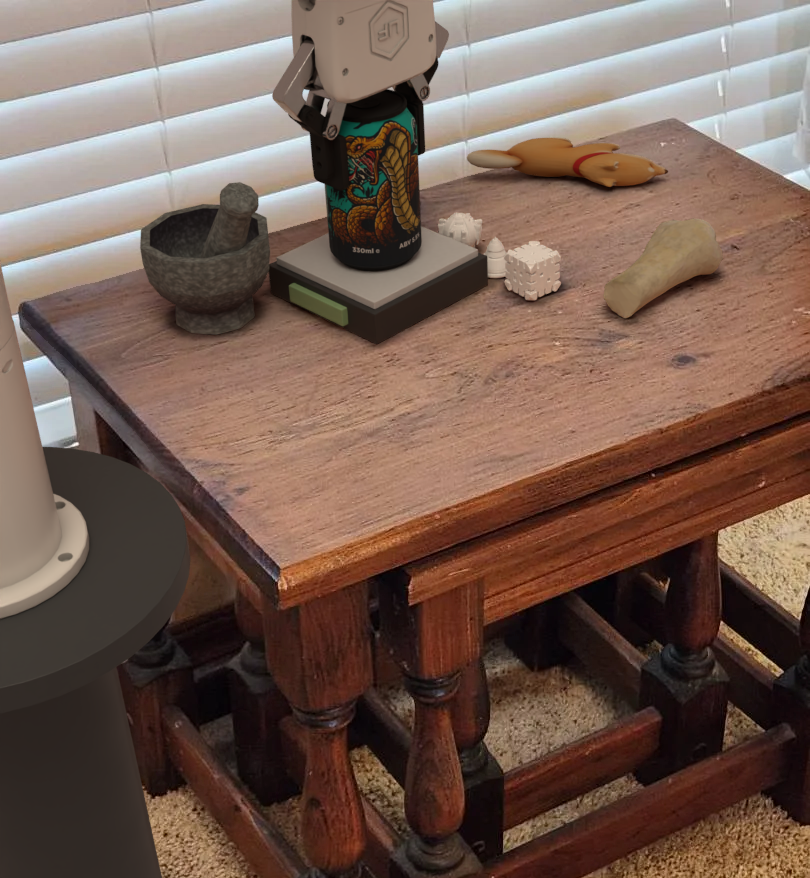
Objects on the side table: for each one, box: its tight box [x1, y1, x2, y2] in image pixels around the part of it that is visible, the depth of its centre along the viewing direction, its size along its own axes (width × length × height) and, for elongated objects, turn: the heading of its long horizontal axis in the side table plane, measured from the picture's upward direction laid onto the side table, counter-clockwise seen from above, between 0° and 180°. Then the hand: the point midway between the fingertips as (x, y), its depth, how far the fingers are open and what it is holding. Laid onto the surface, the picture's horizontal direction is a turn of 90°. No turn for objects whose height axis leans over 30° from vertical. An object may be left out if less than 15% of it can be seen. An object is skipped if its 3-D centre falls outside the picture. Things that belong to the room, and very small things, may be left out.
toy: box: [466, 137, 669, 188], centre depth 134 cm, size 3×17×5 cm
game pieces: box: [437, 212, 562, 301], centre depth 121 cm, size 12×3×3 cm, turn 37°
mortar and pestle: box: [139, 181, 271, 336], centre depth 115 cm, size 11×9×12 cm
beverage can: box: [324, 88, 422, 271], centre depth 115 cm, size 7×7×12 cm
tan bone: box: [602, 217, 724, 319], centre depth 117 cm, size 11×6×5 cm, turn 150°
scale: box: [268, 225, 489, 345], centre depth 120 cm, size 12×12×3 cm
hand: (370, 165), depth 115 cm, fingers closed on beverage can, 7 cm apart
